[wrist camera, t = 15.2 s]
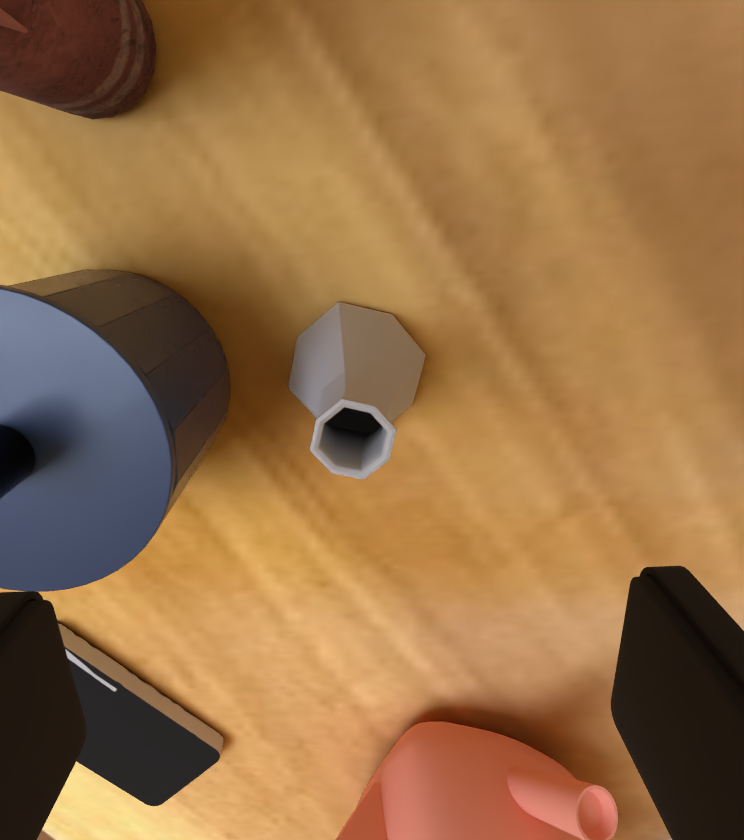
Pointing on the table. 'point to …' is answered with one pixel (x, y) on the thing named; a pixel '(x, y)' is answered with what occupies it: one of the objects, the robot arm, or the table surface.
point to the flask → (355, 385)
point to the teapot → (476, 792)
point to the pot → (156, 351)
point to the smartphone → (136, 728)
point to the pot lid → (74, 449)
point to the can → (77, 54)
